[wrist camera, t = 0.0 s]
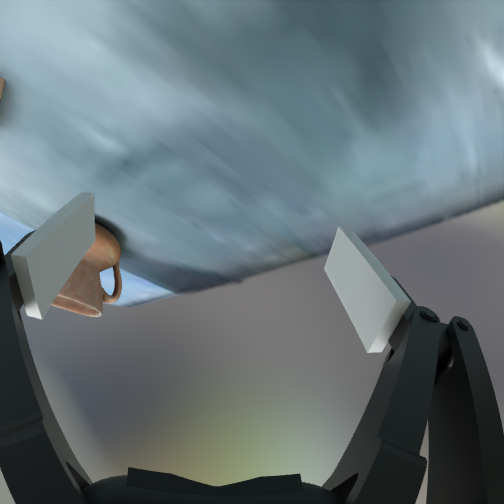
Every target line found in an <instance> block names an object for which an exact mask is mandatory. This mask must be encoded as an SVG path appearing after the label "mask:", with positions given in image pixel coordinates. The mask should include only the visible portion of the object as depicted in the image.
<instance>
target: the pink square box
mask: <svg viewBox="0 0 504 504" xmlns="http://www.w3.org/2000/svg"><path fill="white" fill-rule="evenodd" d="M4 83H5V80H4V79H2V78H0V101H1V96H2V92H3V87H4Z"/></svg>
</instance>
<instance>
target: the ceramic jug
mask: <svg viewBox="0 0 504 504" xmlns="http://www.w3.org/2000/svg"><path fill="white" fill-rule="evenodd" d="M95 238H96V241H95V242H94V243H93V245H92V246H91V247H90V249H89V250H88V251H87V253H86V254H85V255H84V257H83V258H82V260H81V261H80V262H79V264H78V265H77V267H76V268H75V269H74V271H73V272H72V274H71V275H70V277H69V278H68V280H67V281H66V282H65V284H64V285H63V287H62V288H61V290H60V291H59V293H58V295H57V296H56V298H55V299H54V301H53V302H52V304H51V305H53V306H55V307H59V308H63V309H66V310H70V311H72V312H76V313H79V314H83V315H87V316H95V317H100V316H101V315H102V310H103V301H104V302H106V303H114V302H116V301H117V300H118V299H119V297H120V294H121V290H122V280H121V274H120V270H119V259H120V256H121V247H120V244H119V242H118V241H117V239H116V238H115V237H114V236H113V234H111V233H110V232H109V231H108V230H107V229H105V228H104V227H102V226H100V225H99V224H97V223H95ZM111 267H113V271H114V279H115V288H114V292H113V294H112V296H111V295H108V294H107V293H106V292H105V290H104V289H103V288H102V287H101V281H100V275H99V273H100V272H101V271H103V270H106V269H108V268H111Z"/></svg>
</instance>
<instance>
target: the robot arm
mask: <svg viewBox="0 0 504 504" xmlns="http://www.w3.org/2000/svg"><path fill="white" fill-rule="evenodd" d="M95 241H96V238H95V213H94V193H86V192H81V193H80V194H79V195H78V196H76V197H75V198H74V199H72V200H71V201H70V202H69V203H68V204H66V205H65V206H64V207H63V208H61V209H60V210H59V211H58V212H57V213H55V214H54V215H53V216H52V217H51V218H50V219H48V220H47V221H46V222H45V223H44V224H43V225H42V226H40V227H39V228H38V229H37V230H34V231H32V232H30V233H29V234H27V235H26V236H24V237H23V238H22V239H21V240H20V241H19V242H18V243H17V244H16V246H14V247H13V248H12V249H11V250H10V251H9V252H8V253H7V254H6V255H5V256H4V253H3V248H2V243H1V241H0V468H1V471H2V473H3V476H4V478H5V481H6V483H7V486H8V488H9V490H10V493H11V495H12V497H13V499H14V501H15V503H16V504H415V503H416V500H417V497H418V494H419V491H420V488H421V484H422V481H423V478H424V475H425V471H426V467H427V460H426V458H425V457H422V456H420V455H419V454H420V449H421V445H422V441H423V437H424V433H425V429H426V425H427V420H428V426H429V428H428V429H429V464H428V465H429V466H428V486H427V500H426V504H504V433H503V428H502V423H501V418H500V413H499V409H498V405H497V401H496V397H495V393H494V389H493V386H492V382H491V379H490V375H489V372H488V369H487V366H486V362H485V360H484V356H483V354H482V351H481V348H480V345H479V342H478V339H477V337H476V334H475V332H474V329H473V327H472V326H471V324H470V323H469V322H468V321H467V320H466V319H464V318H461V317H458V316H455V317H453V318H452V320H451V321H450V323H449V324H444V323H440V320H439V318H438V316H437V315H436V314H435V313H434V312H433V311H431V310H430V309H428V308H426V307H422V306H417V305H416V304H415V303H414V301H413V300H412V299H411V297H410V296H409V295H408V294H407V292H405V290H404V289H403V288H402V287H401V285H400V284H399V282H398V281H397V280H396V279H395V278H394V277H392V276H391V275H390V274H389V273H388V272H387V271H386V269H385V268H384V267H383V266H382V265H381V263H380V262H379V261H378V260H377V259H376V257H375V256H374V255H373V254H372V253H371V251H370V250H369V249H368V248H367V247H366V246H365V244H364V243H363V242H362V241H361V240H360V239H359V237H358V236H357V235H356V234H355V233H354V232H353V231H352V230H351V228H345V227H340V226H339V227H338V230H337V233H336V236H335V239H334V242H333V245H332V248H331V250H330V253H329V256H328V259H327V262H326V265H325V268H324V270H325V272H326V274H327V275H328V277H329V279H330V281H331V283H332V285H333V287H334V288H335V290H336V292H337V294H338V296H339V298H340V300H341V302H342V303H343V305H344V307H345V309H346V311H347V313H348V315H349V317H350V319H351V321H352V323H353V325H354V327H355V328H356V331H357V333H358V335H359V337H360V339H361V341H362V343H363V345H364V346H365V349H366V351H367V352H368V353H370V352H382V351H383V349H384V347H385V346H386V344H387V343H388V342H389V344H390V345H391V347H392V348H391V350H390V351H389V353H388V354H387V356H386V357H385V359H384V360H383V362H382V363H381V365H380V366H381V367H382V366H383V368H382V371H381V373H380V376H379V378H378V381H377V384H376V386H375V388H374V391H373V393H372V396H371V398H370V400H369V403H368V405H367V407H366V410H365V412H364V414H363V416H362V418H361V420H360V422H359V425H358V427H357V429H356V431H355V433H354V435H353V437H352V439H351V441H350V443H349V445H348V447H347V449H346V451H345V452H344V454H343V456H342V458H341V460H340V462H339V463H338V465H337V467H336V469H335V470H334V472H333V474H332V475H331V476H330V478H329V479H328V480H327V481H326V482H325V483H324V484H323V486H322V487H320V486H317V485H314V484H310V483H305V482H302V481H301V476H300V474H292V475H282V476H281V475H280V476H267V477H257V478H254V479H250V480H246V481H242V482H238V483H233V484H229V485H224V486H211V485H207V484H203V483H200V482H196V481H193V480H189V479H186V478H183V477H179V476H177V475H173V474H169V473H162V472H155V471H148V470H142V469H136V468H130V467H129V468H128V475H122V476H115V477H110V478H106V479H102V480H100V481H97V482H95V483H92V481H91V480H90V478H89V477H88V475H87V474H86V472H85V471H84V469H83V468H82V467H81V465H80V464H79V462H78V461H77V459H76V457H75V455H74V454H73V452H72V450H71V448H70V446H69V444H68V443H67V440H66V438H65V436H64V434H63V432H62V430H61V428H60V426H59V424H58V422H57V420H56V418H55V415H54V413H53V411H52V408H51V406H50V404H49V401H48V399H47V396H46V394H45V391H44V389H43V386H42V383H41V381H40V378H39V375H38V372H37V369H36V367H35V363H34V360H33V357H32V354H31V351H30V347H29V344H28V340H27V337H26V333H25V329H24V325H23V321H22V317H21V314H20V311H19V310H20V308H21V307H22V305H23V304H24V306H25V310H26V313H27V315H28V316H31V317H35V318H39V319H42V318H43V317H44V315H45V314H46V312H47V310H48V309H49V307H50V305H51V304H52V302H53V301H54V299H55V298H56V296H57V295H58V293H59V291H60V290H61V288H62V287H63V285H64V284H65V282H66V281H67V280H68V278H69V277H70V275H71V274H72V272H73V271H74V269H75V268H76V267H77V265H78V264H79V262H80V261H81V260H82V258H83V257H84V255H85V254H86V253H87V251H88V250H89V249H90V247H91V246H92V245H93V243H94V242H95ZM452 363H453V364H452ZM451 364H452V366H451V367H450V365H451Z"/></svg>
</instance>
